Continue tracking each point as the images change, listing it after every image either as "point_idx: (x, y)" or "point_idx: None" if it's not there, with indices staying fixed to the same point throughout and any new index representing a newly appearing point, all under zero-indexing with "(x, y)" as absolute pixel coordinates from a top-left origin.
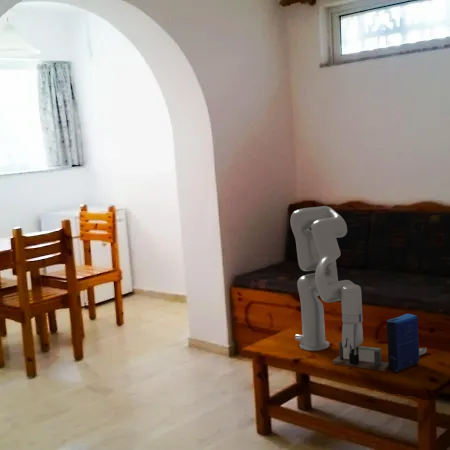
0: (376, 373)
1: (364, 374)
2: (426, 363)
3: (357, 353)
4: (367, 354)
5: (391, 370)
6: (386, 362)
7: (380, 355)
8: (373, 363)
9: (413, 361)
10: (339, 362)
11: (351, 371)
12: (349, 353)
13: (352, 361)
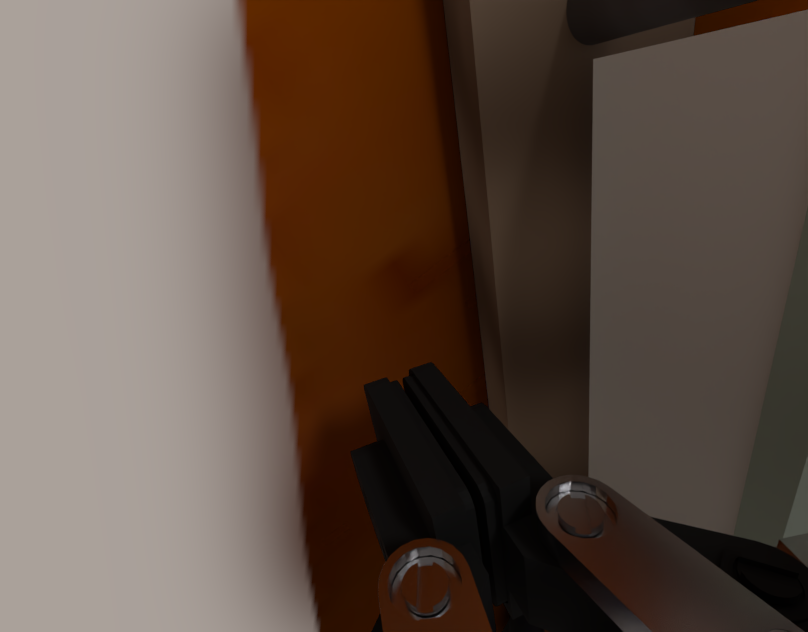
0: None
1: (331, 525)
2: None
3: (680, 347)
4: (668, 486)
5: (510, 627)
6: None
7: None
8: (587, 454)
9: None
10: (464, 49)
11: (317, 373)
12: (381, 622)
13: (361, 487)
